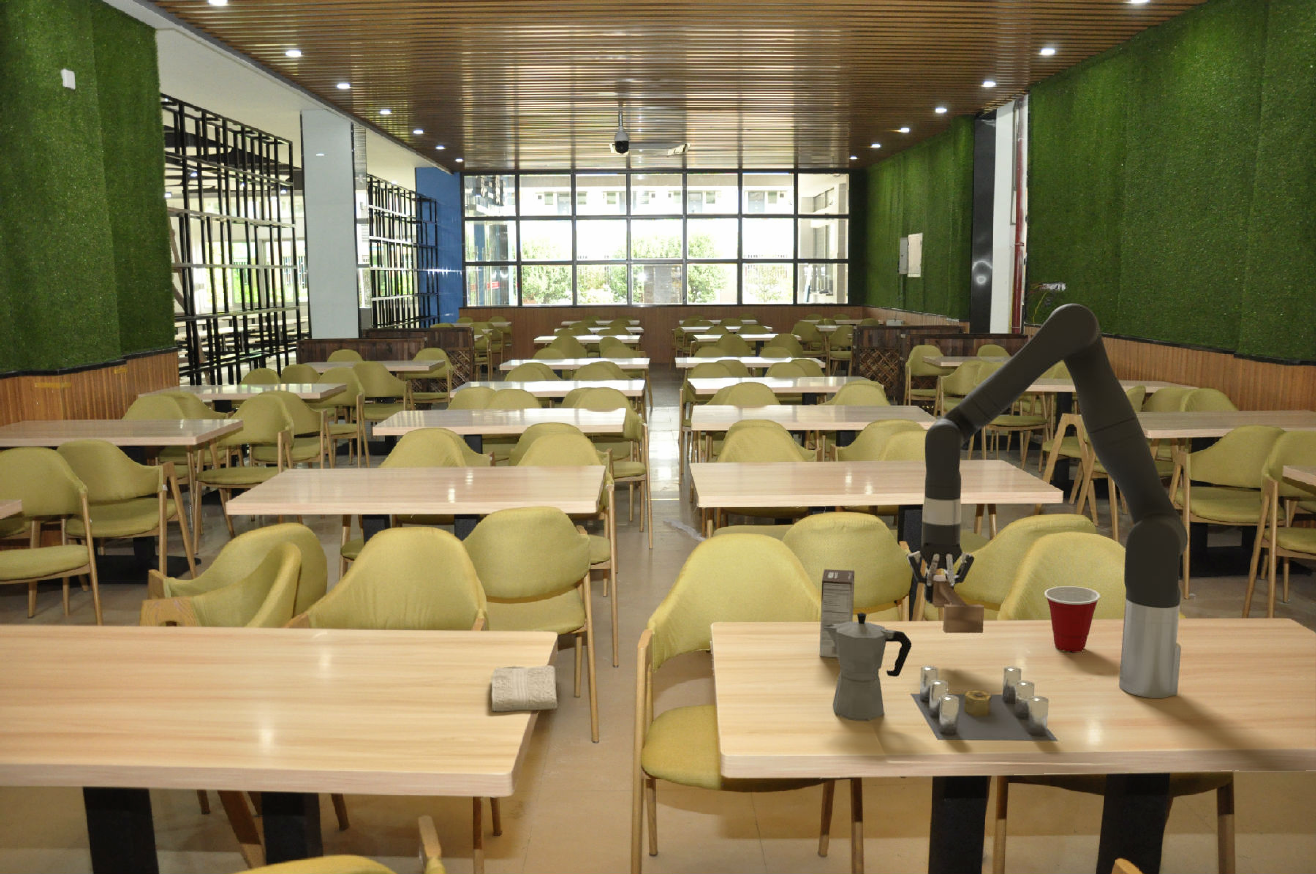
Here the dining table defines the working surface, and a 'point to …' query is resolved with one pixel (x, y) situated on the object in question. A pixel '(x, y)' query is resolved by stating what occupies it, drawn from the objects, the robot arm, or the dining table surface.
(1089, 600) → the plastic cup
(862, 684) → the coffeepot
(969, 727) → the spacer mat
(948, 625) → the wooden mallet
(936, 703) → the steel spacers
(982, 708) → the brass nut
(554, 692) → the washcloth
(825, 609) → the coffee box
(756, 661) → the dining table surface
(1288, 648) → the dining table surface
